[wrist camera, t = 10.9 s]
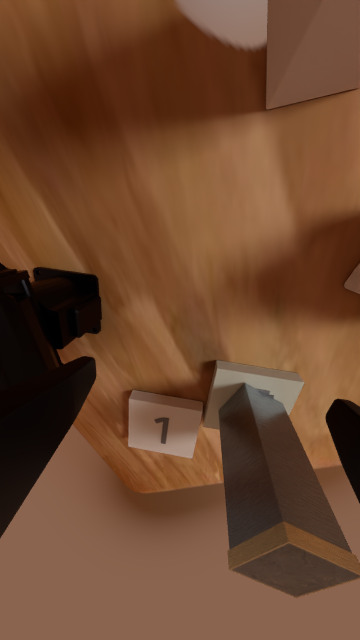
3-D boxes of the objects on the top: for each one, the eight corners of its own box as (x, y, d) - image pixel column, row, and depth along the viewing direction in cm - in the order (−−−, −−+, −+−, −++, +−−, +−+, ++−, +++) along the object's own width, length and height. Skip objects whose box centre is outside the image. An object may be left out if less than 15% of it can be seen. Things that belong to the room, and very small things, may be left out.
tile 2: (203, 416, 26) (203, 427, 24) (216, 360, 22) (217, 368, 21) (272, 428, 25) (277, 440, 24) (298, 373, 22) (304, 383, 20)
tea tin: (217, 410, 23) (228, 569, 12) (244, 381, 21) (288, 541, 10) (253, 429, 24) (296, 597, 13) (284, 403, 22) (366, 577, 11)
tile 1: (131, 436, 29) (128, 447, 28) (132, 389, 25) (128, 399, 24) (192, 447, 29) (192, 459, 27) (202, 401, 25) (202, 412, 23)
